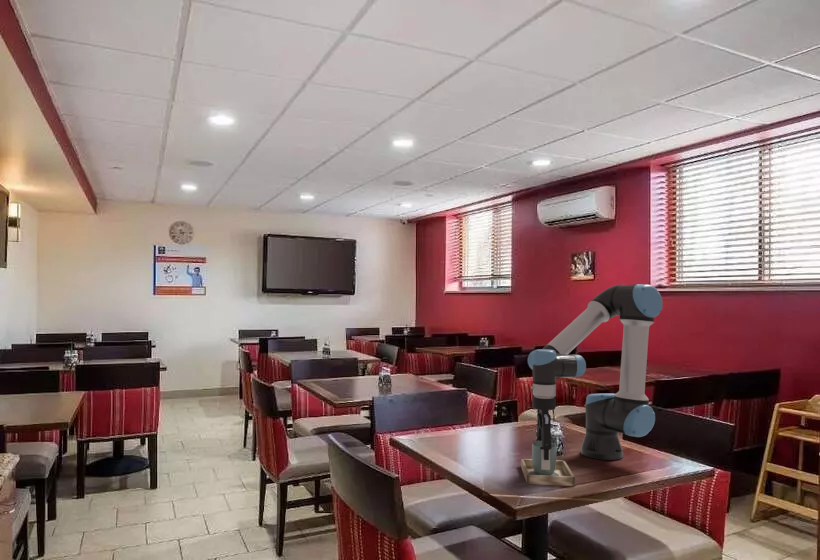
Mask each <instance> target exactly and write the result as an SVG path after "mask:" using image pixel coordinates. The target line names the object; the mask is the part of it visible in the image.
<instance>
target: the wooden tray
mask: <svg viewBox="0 0 820 560" xmlns="http://www.w3.org/2000/svg"><path fill="white" fill-rule="evenodd" d="M520 468H521V470H522V471H521V472H522V474H523V477H524V479H525V482H526V484H527V485H544V486H545V485H547V486H548V485H549V486H567V487H575V486H576V477H575V475H574V473H573V472H572V470H571V469H570V467H569V465H568V464H567V462H566V461H565V460H563V459H556V467H555V471H554V472H555V473H557V474H558V475H559V476H548V475H529V473H528V472H530V471H533V470H534V469H533V465H532V458H520Z"/></svg>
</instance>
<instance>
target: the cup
mask: <svg viewBox="0 0 820 560" xmlns="http://www.w3.org/2000/svg"><path fill="white" fill-rule="evenodd" d="M551 446H552V448H551V449H550V470H542V469H541V449H540V447H542V441H539V440H536V441H535V440H534V441H533V442H532V446H531V459H532V465H533V469H534V471H535V473H536V474H538V475H548V476H550V475H552V474H553V473H554V471H555V467H556V460H557V449H558V448H557V444H556V443H555V442H552V441H551Z"/></svg>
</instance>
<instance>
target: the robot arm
mask: <svg viewBox="0 0 820 560" xmlns="http://www.w3.org/2000/svg"><path fill="white" fill-rule="evenodd" d="M663 306H664V305H663V298H662V295H661V293H660V292H659V291H658V289H657V288H656V287H655V286H653V285H651V284H643V283H641V284H640V283H639V284H638V283H636V284H615V285H612V286H610V287H608V288H606V289H605V290H603V291H601V292H600V293H599V294H597V295H596V296H594V298H593V299H592V300H590V301H589V302H588V304H587V307H586V309H585V310H583V311H582V312H581V313H580V314H579V315H578V316H577V317H576V318H575V319H573V320H572V322H571V323H569V324H568V325H567V326H566V327H565V328H564V329H562V330H561V331H560V332H559V333H558V334H557V335H556V336H554V338H553V339H552V340H551V341H549V342H548V343H547V344H546V345H544V347H543V348H542V349H541V348H540V349H539V348H538V349H535V350H532V351H531V352H530V353H529V354H528V357H527V365H528V367H529V368H530V369H531V370H532V385H531V386H530V390H532V395H533V397H532V398H531V399H532V400H531V403H532V408H533V409H534V410H537V411H536V413H537V414H536V417H537V420H536V439H537V440H536V441H542V447H540V449H541V469H542V470H550V449H551V448H552V446H551V442H552V430H551V429H552V427H551V426H552V424H551V423H552V415H550V413H549V412H550V411H554V410H556V407H557V406H556V403H557V402H556V401H557V400H556V398H555V397H557V379H558V378H559V379H560V378H576V377H581V376H583V375H584V374H585V373H586V370H587V363H586V360H585V358H584V357H583V356H582V355H580V354H574V353H573V354H570V353H571V352H572V351H573V350H575V348H576V347H577V346H578V345H580V344H581V343H582V342H583V341H584V340H585V339H586V338H587V337H588V336H590V334H591V333H593V332H594V330H596V329H597V328H598V327H599V326H600V325H601V324H602V323H607V322H609V320H611V319H612V318H614V317H618V316H619V321H620V322H621V323H622V325H623V331H622V332H623V333H622V344H621V345H622V346H621V359H620V371H619V372H620V373H619V390H618V391H617V392H616V393H613V392H612V393H607V392H606V393H604V392H603V393H590V394H588V395H587V396H586V398H585V399H586V400H585V404H584V405H585V433H584V434H585V435H584V437H583V439H582V440H583V441H582V443H581V446H580V453H581V455H583V456H584V457H588V458H591V459H595V460H602V461H603V460H605V461H613V460H614V461H616V460H620V459H622V458H623V457H624V450H623V447H622V444H621V440H620V438H619V433H621V434H624V435H626V436H629V437H635V438H642V437H645V436H647V435H648V434H649V432H651V431H652V429H653V427H654V425H655V422H656V412H655V411H654V409H653V407H651V406H650V405H649V404H650V403H649V400H650V399H649V398H648V396H647V395H646V394H645V391H646V377H647V361H648V347H649V333H650V326H652V325H653V324H655V318H657V316H659V315H660V313H661V312H662V310H663Z"/></svg>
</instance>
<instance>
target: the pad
mask: <svg viewBox="0 0 820 560" xmlns="http://www.w3.org/2000/svg"><path fill="white" fill-rule="evenodd" d="M528 473H529V475H538V474H536V473H535V471H534V470H533V471H530V472H528ZM550 476H559V475H558V474H557V473H555V472H554V473H553V474H552V475H550Z"/></svg>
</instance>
